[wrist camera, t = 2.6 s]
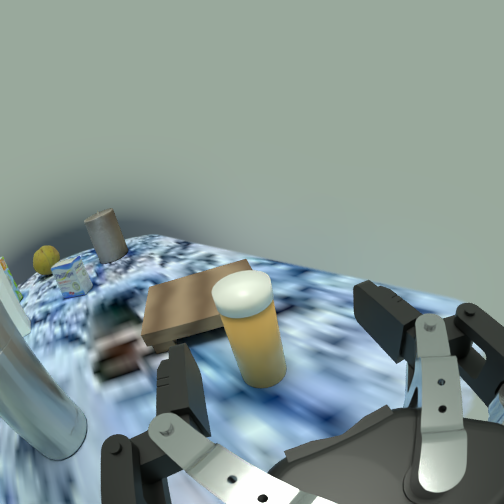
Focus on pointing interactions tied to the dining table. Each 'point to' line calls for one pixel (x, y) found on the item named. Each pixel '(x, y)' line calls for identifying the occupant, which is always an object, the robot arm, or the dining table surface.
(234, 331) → the beer glass
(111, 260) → the pillar candle
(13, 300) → the milk
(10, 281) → the snack box
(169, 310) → the walnut stand
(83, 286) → the medicine box
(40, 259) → the fruit
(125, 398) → the dining table surface
